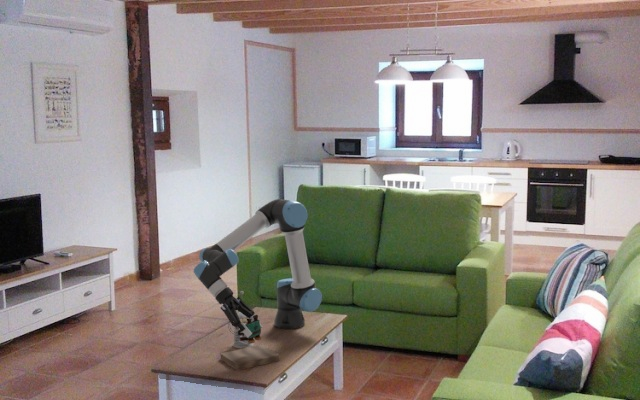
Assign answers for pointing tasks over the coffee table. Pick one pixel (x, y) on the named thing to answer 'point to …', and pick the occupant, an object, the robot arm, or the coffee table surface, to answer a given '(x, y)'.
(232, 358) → the walnut stand
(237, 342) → the white plunger jar
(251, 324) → the binoculars
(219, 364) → the coffee table surface
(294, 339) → the coffee table surface
